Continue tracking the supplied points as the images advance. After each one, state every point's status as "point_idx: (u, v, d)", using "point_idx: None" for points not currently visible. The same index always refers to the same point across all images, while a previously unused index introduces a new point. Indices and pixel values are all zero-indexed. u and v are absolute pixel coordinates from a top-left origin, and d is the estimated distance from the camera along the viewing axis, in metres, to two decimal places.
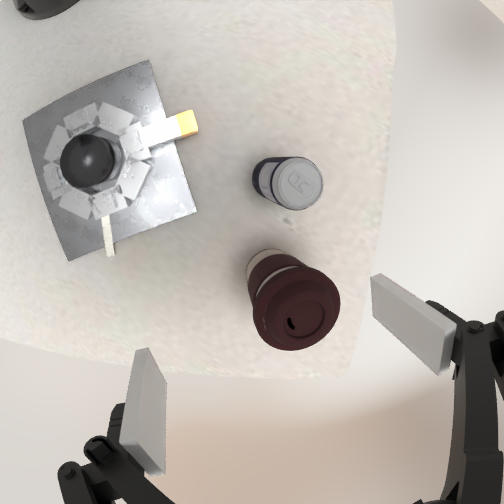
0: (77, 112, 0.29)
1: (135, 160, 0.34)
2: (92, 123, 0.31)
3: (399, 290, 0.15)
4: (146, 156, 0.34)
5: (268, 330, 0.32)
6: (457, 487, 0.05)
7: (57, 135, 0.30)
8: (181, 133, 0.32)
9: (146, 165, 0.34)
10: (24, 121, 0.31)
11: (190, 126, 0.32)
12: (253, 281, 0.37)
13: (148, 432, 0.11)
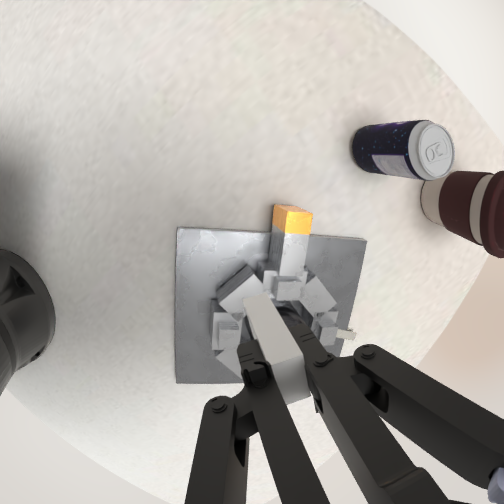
0: (221, 337, 0.30)
1: (302, 289, 0.32)
2: (237, 321, 0.32)
3: (271, 311, 0.16)
4: (305, 276, 0.32)
5: None
6: None
7: (227, 359, 0.33)
8: (308, 233, 0.29)
9: (313, 279, 0.32)
10: (178, 381, 0.36)
11: (305, 221, 0.28)
12: (457, 229, 0.31)
13: None
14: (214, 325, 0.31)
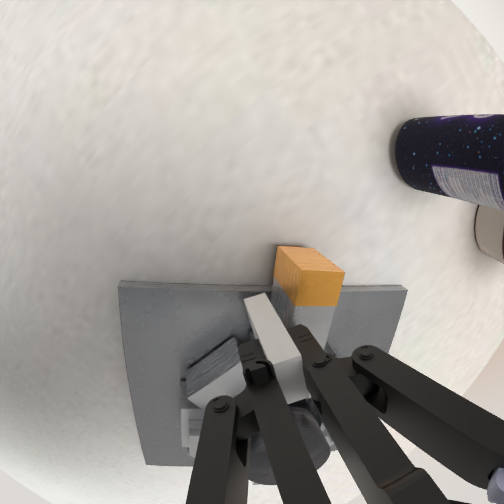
0: (192, 443, 0.18)
1: None
2: None
3: (269, 312, 0.16)
4: None
5: None
6: None
7: None
8: (334, 305, 0.16)
9: None
10: (149, 463, 0.24)
11: (331, 285, 0.16)
12: None
13: None
14: (183, 422, 0.19)
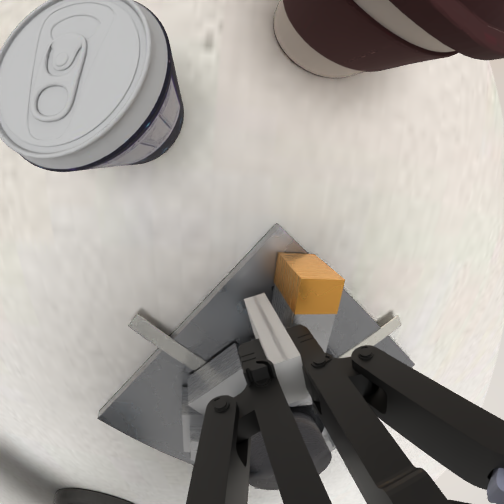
0: (193, 449, 0.18)
1: None
2: None
3: (268, 312, 0.16)
4: None
5: None
6: None
7: None
8: (334, 312, 0.16)
9: None
10: None
11: (331, 293, 0.16)
12: (393, 62, 0.11)
13: None
14: (184, 428, 0.19)
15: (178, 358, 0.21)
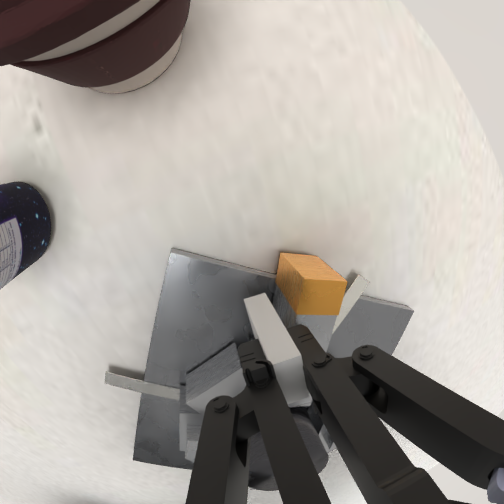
0: (190, 448, 0.17)
1: None
2: None
3: (269, 312, 0.16)
4: None
5: None
6: None
7: None
8: (335, 314, 0.16)
9: None
10: None
11: (334, 294, 0.16)
12: (135, 53, 0.09)
13: None
14: (181, 427, 0.19)
15: (158, 394, 0.21)
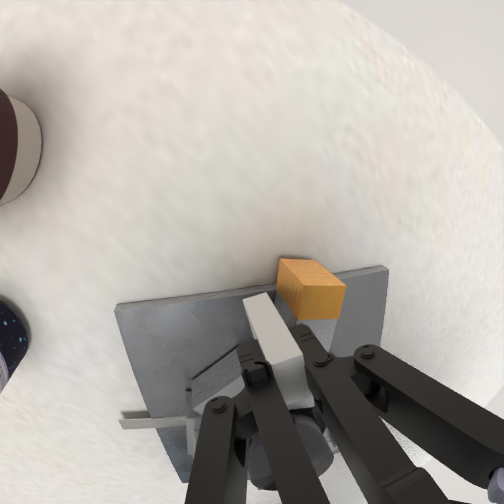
0: None
1: None
2: None
3: (270, 311, 0.16)
4: None
5: None
6: None
7: None
8: (336, 317, 0.17)
9: None
10: None
11: (333, 299, 0.16)
12: None
13: None
14: (189, 431, 0.19)
15: (169, 425, 0.22)
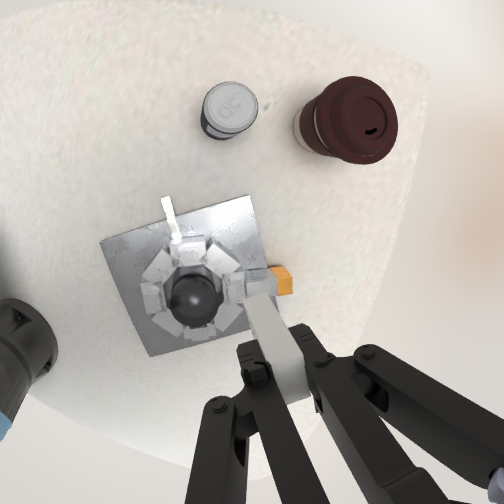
0: (189, 252, 0.37)
1: (232, 302, 0.42)
2: (199, 260, 0.40)
3: (271, 311, 0.16)
4: (242, 301, 0.42)
5: (374, 153, 0.30)
6: None
7: (160, 260, 0.39)
8: (278, 294, 0.42)
9: (240, 308, 0.43)
10: (151, 355, 0.46)
11: (286, 290, 0.42)
12: (324, 153, 0.35)
13: None
14: (193, 243, 0.39)
15: (170, 228, 0.41)
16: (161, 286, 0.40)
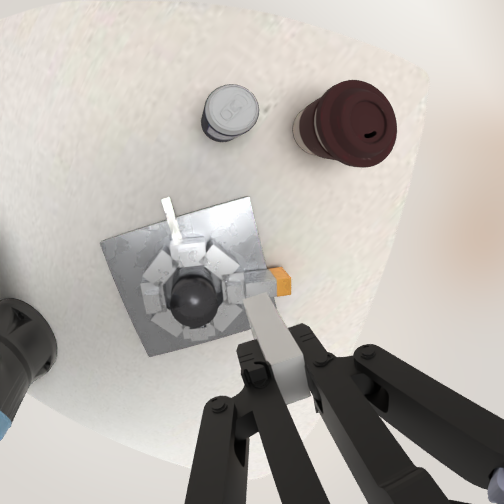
0: (189, 252, 0.38)
1: (231, 303, 0.43)
2: (199, 261, 0.40)
3: (271, 311, 0.16)
4: (241, 302, 0.43)
5: (373, 156, 0.30)
6: None
7: (160, 260, 0.39)
8: (277, 295, 0.42)
9: (239, 309, 0.43)
10: (150, 355, 0.46)
11: (285, 291, 0.42)
12: (323, 155, 0.36)
13: None
14: (193, 244, 0.39)
15: (170, 229, 0.41)
16: (161, 286, 0.40)
